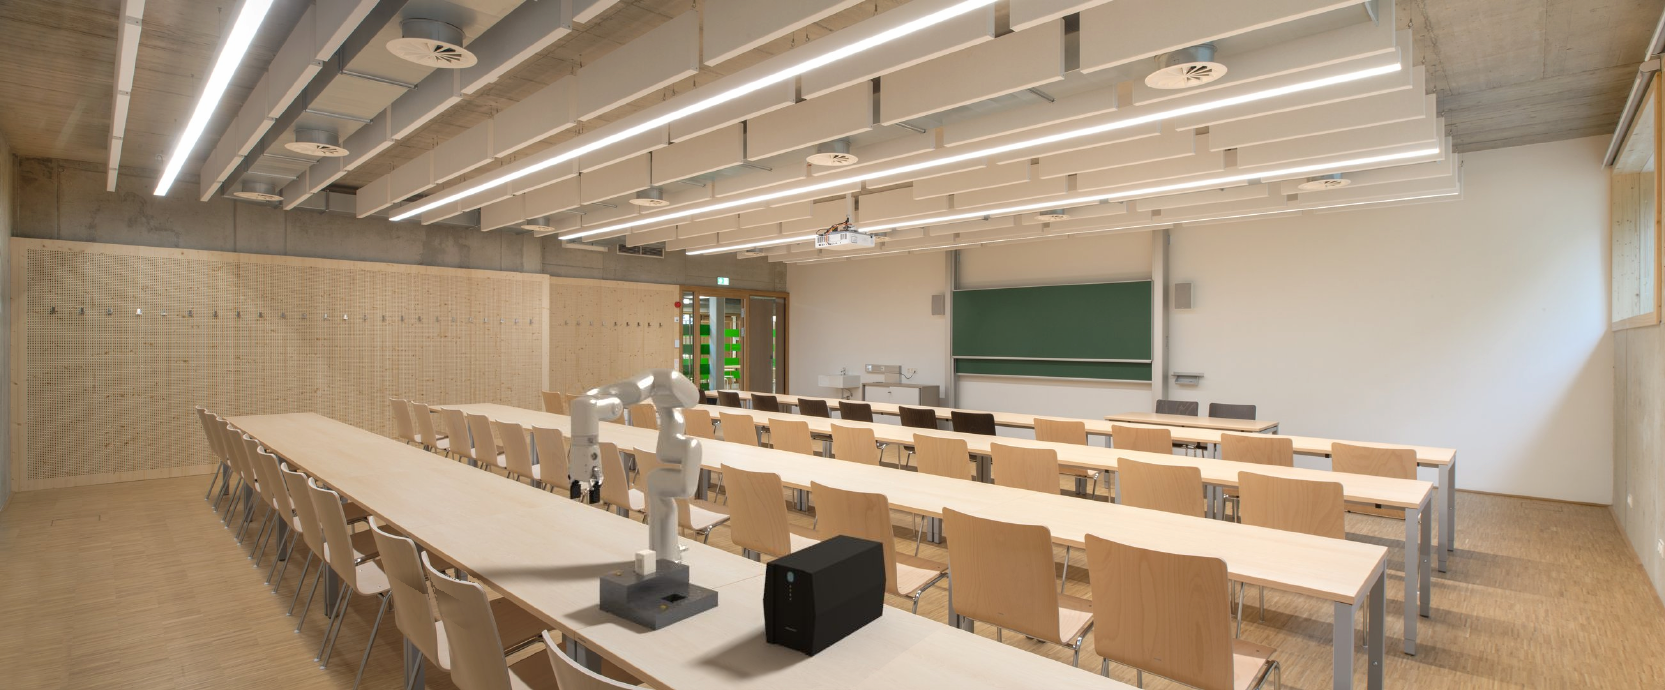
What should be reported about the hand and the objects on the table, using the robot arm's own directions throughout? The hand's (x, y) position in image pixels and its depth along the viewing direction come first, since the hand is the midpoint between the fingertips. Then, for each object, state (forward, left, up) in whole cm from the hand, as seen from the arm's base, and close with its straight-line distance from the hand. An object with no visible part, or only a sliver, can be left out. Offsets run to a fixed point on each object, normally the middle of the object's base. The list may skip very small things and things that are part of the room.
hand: (584, 500), depth 209 cm
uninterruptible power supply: (-28, +67, -29) cm, 78 cm away
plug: (-10, +15, -22) cm, 28 cm away
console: (-10, +21, -29) cm, 37 cm away
